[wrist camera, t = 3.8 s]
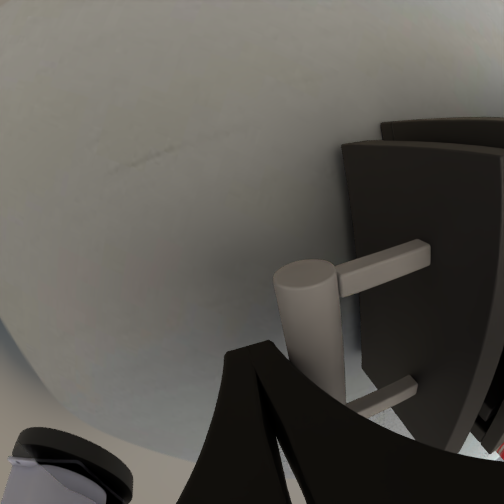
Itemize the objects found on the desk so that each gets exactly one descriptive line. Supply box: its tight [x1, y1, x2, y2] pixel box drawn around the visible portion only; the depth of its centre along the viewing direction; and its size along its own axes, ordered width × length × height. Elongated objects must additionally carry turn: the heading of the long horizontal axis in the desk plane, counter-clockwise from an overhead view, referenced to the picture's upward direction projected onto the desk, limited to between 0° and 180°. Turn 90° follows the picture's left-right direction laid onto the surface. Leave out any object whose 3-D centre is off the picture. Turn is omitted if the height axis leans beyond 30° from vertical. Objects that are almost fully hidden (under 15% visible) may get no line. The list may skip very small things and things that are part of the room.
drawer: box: [273, 140, 504, 453], centre depth 9 cm, size 17×10×7 cm, turn 103°
